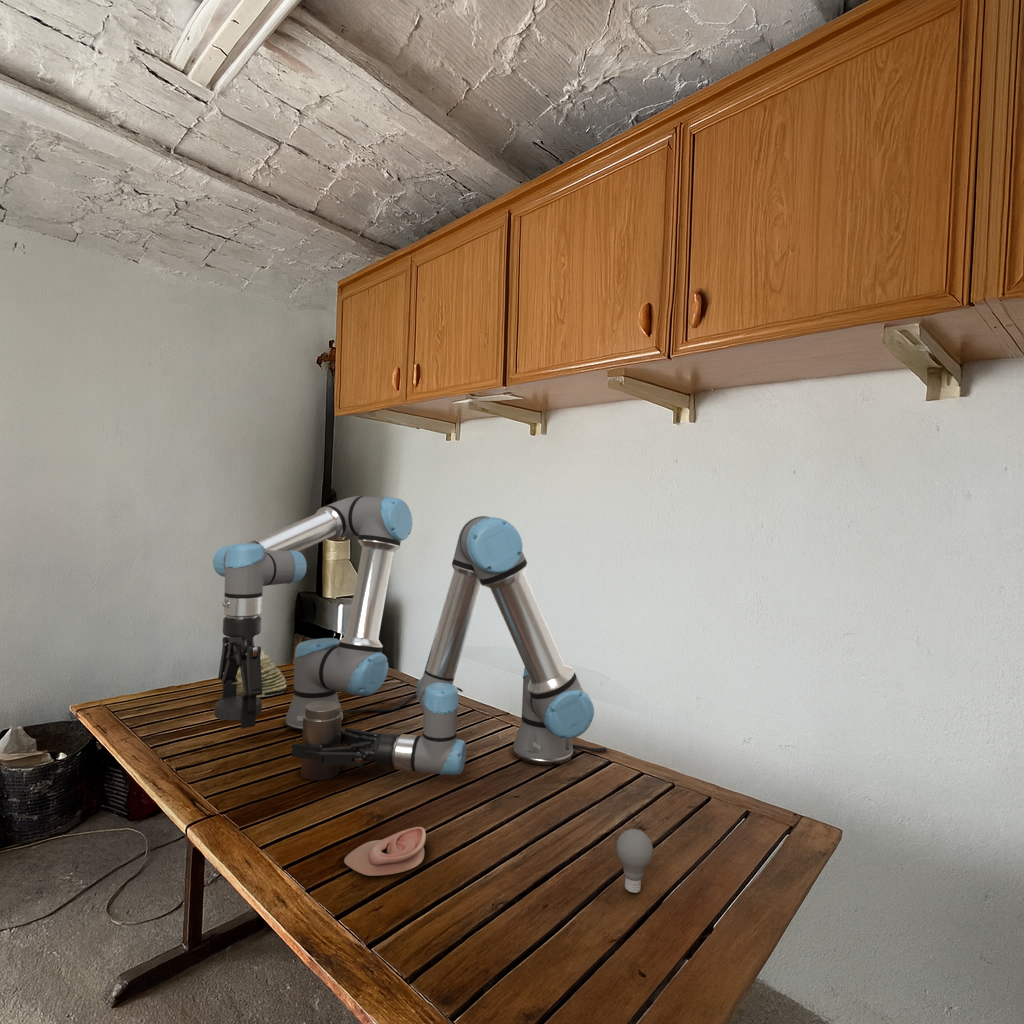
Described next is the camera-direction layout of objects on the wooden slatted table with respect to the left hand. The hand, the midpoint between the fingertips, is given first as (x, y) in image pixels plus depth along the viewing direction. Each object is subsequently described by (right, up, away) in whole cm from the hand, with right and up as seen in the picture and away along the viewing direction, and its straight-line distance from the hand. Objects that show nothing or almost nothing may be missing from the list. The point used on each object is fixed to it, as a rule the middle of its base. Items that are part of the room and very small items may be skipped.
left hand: (238, 720), depth 136 cm
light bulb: (+79, -19, -30) cm, 87 cm away
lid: (0, +4, 0) cm, 4 cm away
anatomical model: (+36, -17, -24) cm, 47 cm away
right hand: (+10, -8, +10) cm, 17 cm away
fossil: (-22, -13, +62) cm, 67 cm away
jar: (+15, -15, +10) cm, 23 cm away
